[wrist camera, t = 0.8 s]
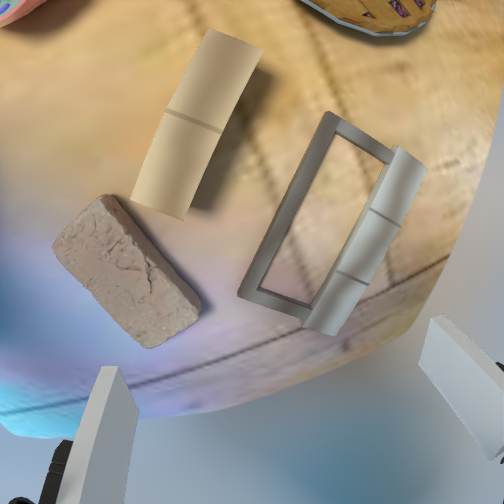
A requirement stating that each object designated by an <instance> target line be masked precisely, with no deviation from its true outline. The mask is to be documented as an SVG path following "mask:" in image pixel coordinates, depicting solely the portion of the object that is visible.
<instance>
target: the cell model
mask: <svg viewBox="0 0 504 504" xmlns="http://www.w3.org/2000/svg"><path fill="white" fill-rule="evenodd" d="M45 1H47V0H0V27H3V26H5V25H8V24H10V23H12V22H14V21H16V20H17V19H19V18H22V17H23V16H25V15H27V14H28V13H30V12H31V11H32V10H34V9H35V8H36V7H38V6H39V5H41V4H42V3H44V2H45Z"/></svg>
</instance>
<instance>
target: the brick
mask: <svg viewBox="0 0 504 504" xmlns="http://www.w3.org/2000/svg"><path fill="white" fill-rule="evenodd" d="M52 250H53V252H54V253H55V254H56V257H57V259H58V260H59V261H60V262H61V263H62V264H63V265H64V267H65V268H66V269H67V270H68V271H69V272H70V273H71V274H72V275H73V276H74V277H75V278H76V279H77V280H78V281H79V282H81V283H82V284H83V286H84V287H85V288H86V289H88V290H89V291H91V292H92V294H93V296H94V298H95V299H96V300H97V301H98V302H99V303H100V305H101V306H102V307H103V308H104V309H105V310H106V311H107V312H108V313H109V314H110V315H111V317H112V318H113V319H114V320H115V321H116V322H117V323H118V324H119V325H120V326H121V327H122V328H123V329H124V330H125V331H126V332H127V333H129V334H130V336H131V337H132V338H133V339H134V340H136V341H138V342H139V343H140V344H141V346H142V347H144V348H146V349H152V348H154V347H156V346H159V345H161V344H162V343H165V342H166V341H167V340H168V339H169V338H170V337H172V336H174V335H175V334H177V333H178V332H179V331H181V330H184V329H186V328H188V327H189V326H190V325H192V324H193V323H195V322H196V321H197V320H198V319H199V317H200V311H201V310H202V308H201V304H202V303H201V300H200V297H199V296H197V294H196V293H195V291H194V290H193V289H192V288H191V287H190V286H189V285H188V284H187V283H186V282H185V281H184V280H183V279H181V278H180V277H179V276H178V274H177V273H176V272H175V270H174V269H173V267H172V266H171V264H170V263H168V262H167V261H166V260H165V259H164V258H163V257H162V255H161V254H160V252H159V250H158V249H157V248H156V247H155V246H154V245H153V244H152V243H151V241H150V240H148V239H147V238H146V235H145V234H144V233H143V232H142V230H141V229H140V228H139V227H138V226H137V225H136V223H135V222H134V221H133V220H132V219H131V217H130V216H129V215H128V213H127V212H126V211H124V209H123V208H122V207H121V206H120V204H119V203H118V201H117V200H116V199H115V198H114V197H113V196H112V195H109V194H105V195H102V196H100V197H98V198H97V200H95V201H94V202H93V203H91V204H90V205H89V206H88V208H86V209H85V210H84V211H83V212H81V213H80V215H79V216H78V217H77V218H76V219H75V220H74V221H73V222H72V223H71V224H70V225H69V226H68V227H67V228H66V229H65V230H64V231H63V232H62V234H61V235H60V236H59V237H58V238H57V240H56V241H55V242H54V243H53V246H52Z"/></svg>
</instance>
